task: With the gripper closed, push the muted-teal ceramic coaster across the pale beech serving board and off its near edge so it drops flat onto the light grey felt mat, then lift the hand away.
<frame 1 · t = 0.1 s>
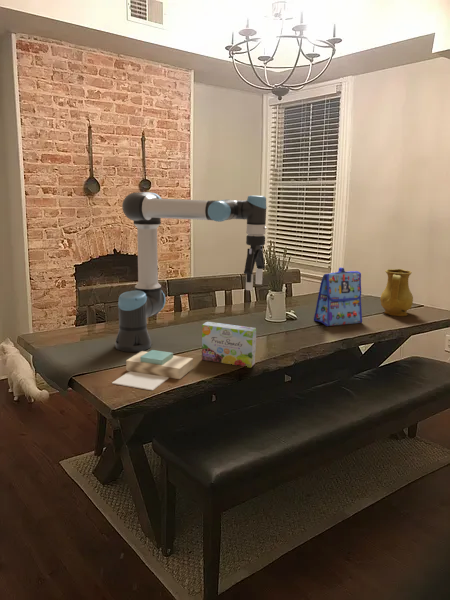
hand: (254, 287, 207), 28 cm above the table, fingers open, 13 cm apart
mat: (140, 381, 180), on the table
lunch bag: (337, 322, 264), on the table
pitcher: (394, 314, 283), on the table
coaster: (156, 359, 190), point 4 cm above the table, touching board
board: (160, 369, 191), on the table
snack box: (228, 362, 201), on the table
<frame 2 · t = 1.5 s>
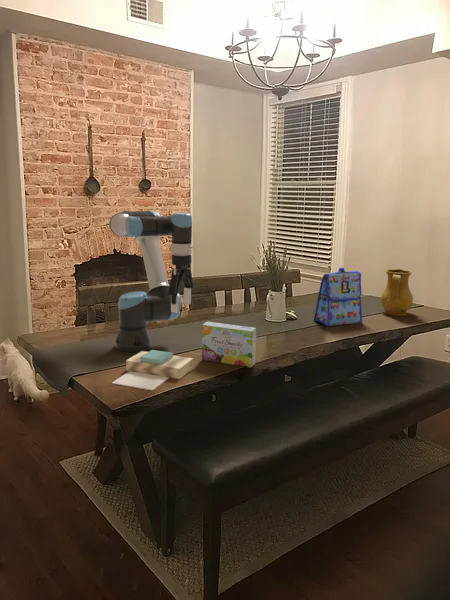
hand: (181, 307, 198), 21 cm above the table, fingers open, 13 cm apart
nothing on the table moved.
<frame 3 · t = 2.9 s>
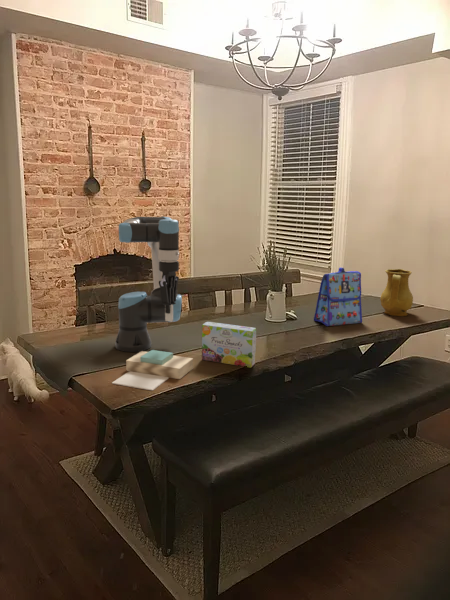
hand: (169, 320, 197), 16 cm above the table, fingers closed
nothing on the table moved.
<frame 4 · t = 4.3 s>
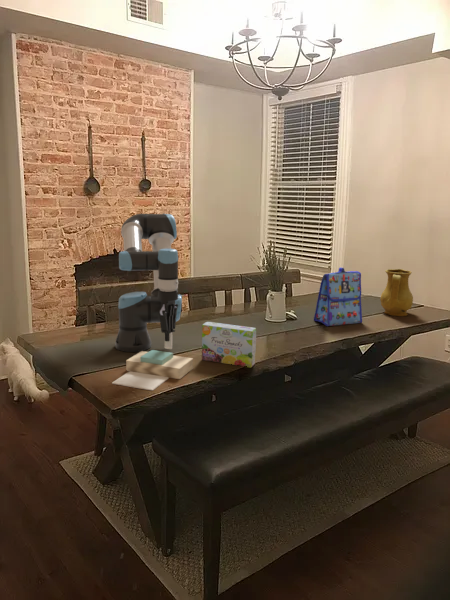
hand: (168, 348, 199), 5 cm above the table, fingers closed
nothing on the table moved.
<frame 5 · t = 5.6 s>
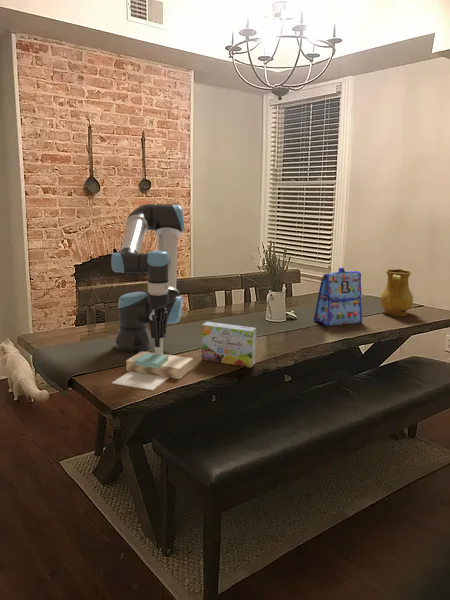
hand: (158, 354, 191), 6 cm above the table, fingers closed
coaster: (151, 362, 187), point 4 cm above the table, touching board
everything else where it was.
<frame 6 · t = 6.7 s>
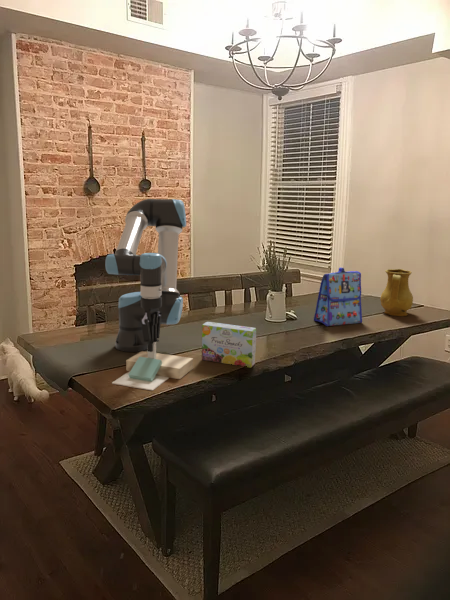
hand: (152, 359, 186), 5 cm above the table, fingers closed
coaster: (146, 370, 183), point 2 cm above the table, tilted 28°, touching board, mat
everything else where it was.
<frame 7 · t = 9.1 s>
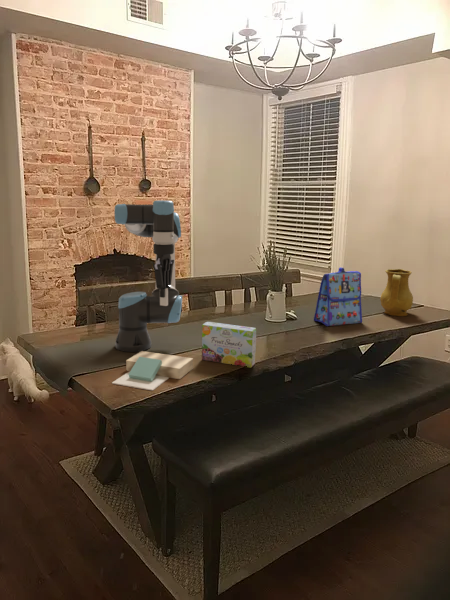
hand: (164, 305, 192), 24 cm above the table, fingers closed
nothing on the table moved.
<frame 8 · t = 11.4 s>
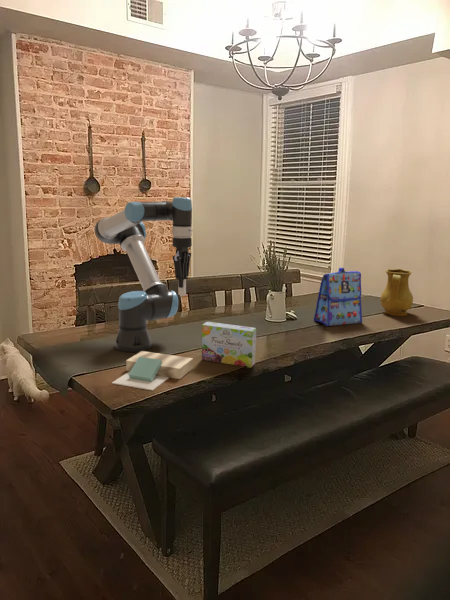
hand: (182, 294, 206), 24 cm above the table, fingers closed
nothing on the table moved.
at the end: coaster point 2.5 cm above the table; coaster inside the target area on the mat (4.1 cm from its centre), point 2.5 cm above the mat's base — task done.
